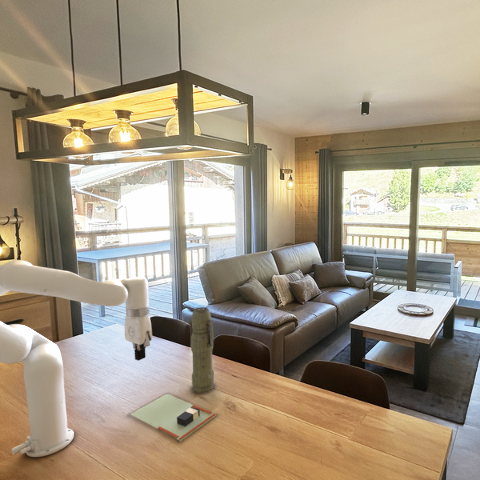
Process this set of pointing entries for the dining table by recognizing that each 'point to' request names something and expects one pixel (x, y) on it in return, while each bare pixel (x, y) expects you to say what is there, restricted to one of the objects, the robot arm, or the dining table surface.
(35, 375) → the robot arm
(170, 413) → the desk mat
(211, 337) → the thermos
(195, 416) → the eraser
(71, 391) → the dining table surface
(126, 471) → the dining table surface
